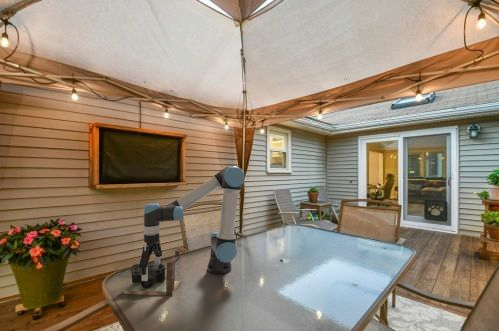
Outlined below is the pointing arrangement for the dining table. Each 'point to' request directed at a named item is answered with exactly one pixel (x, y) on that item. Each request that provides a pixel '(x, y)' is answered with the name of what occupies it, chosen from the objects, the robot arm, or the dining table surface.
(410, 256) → the dining table surface
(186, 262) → the dining table surface
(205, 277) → the dining table surface
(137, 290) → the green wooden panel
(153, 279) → the camera
